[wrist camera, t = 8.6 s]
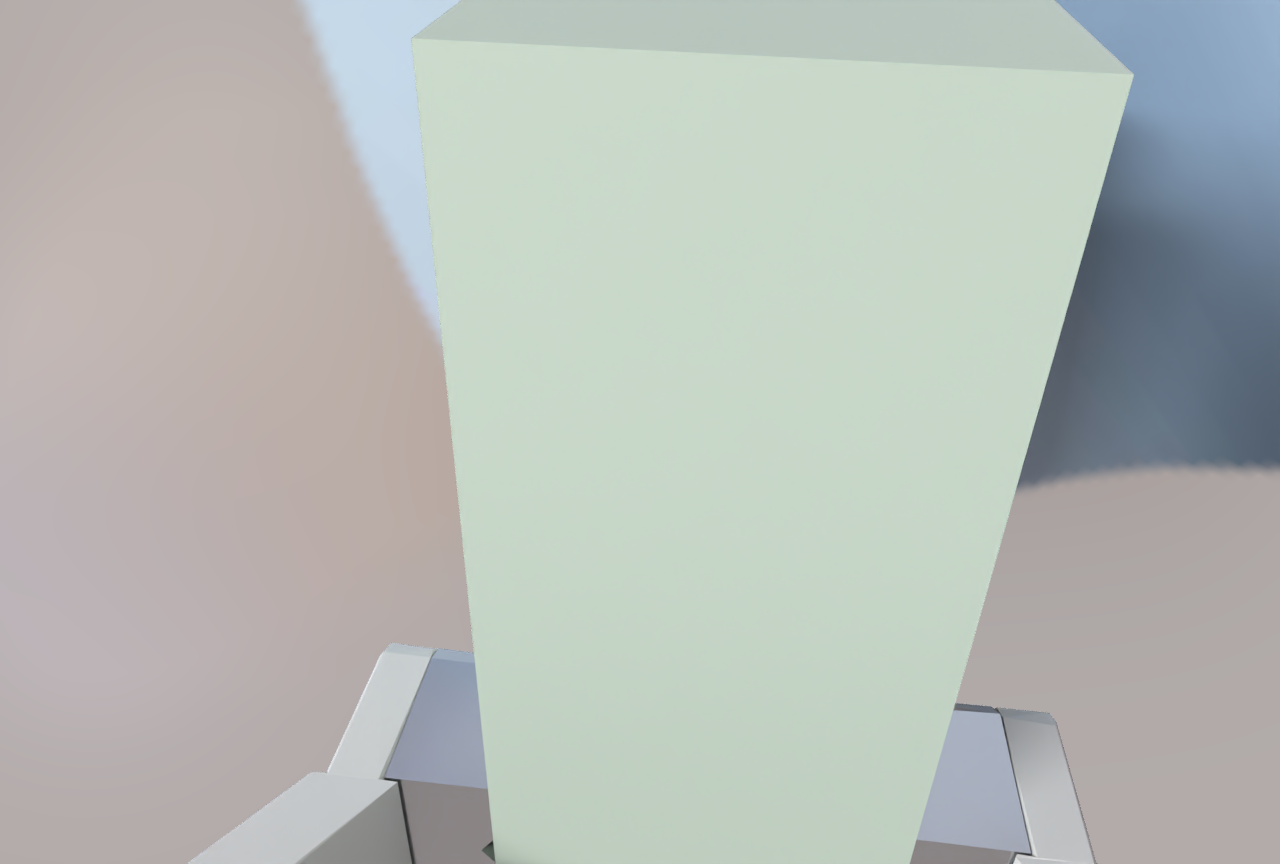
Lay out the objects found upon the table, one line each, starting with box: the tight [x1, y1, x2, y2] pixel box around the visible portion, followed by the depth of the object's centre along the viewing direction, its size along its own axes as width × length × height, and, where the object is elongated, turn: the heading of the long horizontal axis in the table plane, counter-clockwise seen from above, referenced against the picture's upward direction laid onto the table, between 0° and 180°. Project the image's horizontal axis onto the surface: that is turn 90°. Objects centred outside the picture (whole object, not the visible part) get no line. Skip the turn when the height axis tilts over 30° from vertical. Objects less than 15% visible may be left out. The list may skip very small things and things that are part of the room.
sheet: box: [411, 0, 1134, 864], centre depth 15 cm, size 4×14×16 cm, turn 179°
